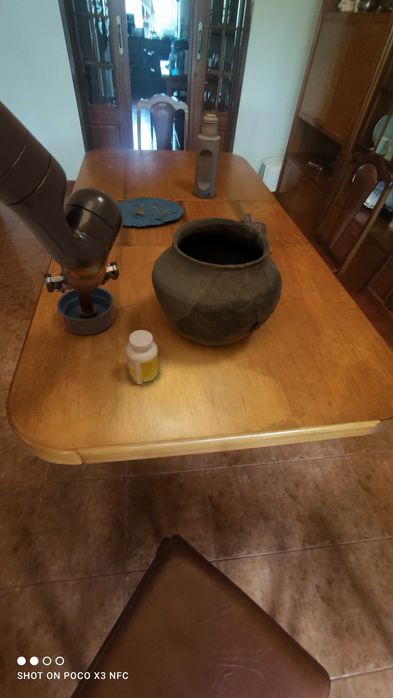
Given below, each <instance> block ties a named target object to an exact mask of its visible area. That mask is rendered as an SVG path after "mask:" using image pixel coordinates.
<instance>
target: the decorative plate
mask: <svg viewBox="0 0 393 698" xmlns="http://www.w3.org/2000/svg"><path fill="white" fill-rule="evenodd" d="M116 203H117V205H118V206H119V208H120V211H121V213H122V218H123V224H122V226H125V227H131V226H133V227H139V228H140V227H141V228H142V227H144V228H145V227H146V226H158V225H163V224H165V223H166V222H170V221H174V220H175V221H176V220H177V219H180V218H181V217H182V215H183V214H184V208H183V207H182V206H181V204H179V203H178V202H176V201H173V200H171V199H166V198H161V197H153V196H140V197H134V198H131V199H127V200H121V201H119V202H116Z"/></svg>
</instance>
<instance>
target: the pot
mask: <svg viewBox="0 0 393 698" xmlns="http://www.w3.org/2000/svg"><path fill="white" fill-rule="evenodd" d="M259 230H260V229H259ZM259 230H258V229H256V228H254V227H252V226H250V225H247V224H244V223H243V221H242V222H241V221H238V220H236V219H231V218H224V217H201V218H196V219H191V220H190V221H186V222H185V223H183V224H182V225H180V226H178V228H176V230H175V231H174V233H173V234H172V237H171V245H169V246H168V247H167V248H166V249H164V250H163V251H162V253H161V254H160V255H158V257H157V258H156V259H155V261H154V263H153V267H152V271H151V283H152V287H153V291H154V294H155V297H156V300H157V301H158V303H159V305H160V307H161V309H162V312H163V314H164V315H165V317H166V318H167V320H168V321H169V323H170V325H171V326H172V328H173V330H175V331H176V332H177V334H179V335H180V336H182V337H183V338H185V339H188V340H190V341H192V342H195V343H198V344H200V345H206V346H224V345H230V344H233V343H236V342H240V341H241V340H243V339H245V338H246V337H249V336H250V335H252V334H254V333H255V332H257V330H259V329H260V328H261V327H262V326H264V325H265V323H266V322H267V321H268V320H269V318H270V317H271V316H272V315H273V313H275V310H276V308H277V307H278V303H279V302H280V299H281V295H282V289H283V281H282V275H281V271H280V269H279V268H278V266H277V264H276V262H275V261H274V260H273V259H272V258H271V256H270V254H269V252H270V246H271V245H270V241H269V240H268V238H267V236H265V235H264V234H263V233H261V232H262V231H259ZM269 245H270V246H269Z"/></svg>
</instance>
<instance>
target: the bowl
mask: <svg viewBox="0 0 393 698" xmlns="http://www.w3.org/2000/svg"><path fill="white" fill-rule="evenodd" d="M90 293H91V297H92V302H93V304H94V305H96V306H97V308H98V313H99V315H98V316H96V317H92V318H88V319H80V317H79V313H78V309H79V307H80V302H79V298H78V294H77V290H75V289H71V290H67V291H65V293H62V295H61V296H60V297H59V298H58V300H57V302H56V310H57V313H58V316H59V319H60V323H61V325H62V327H63V328H64V329H65V330H66V331H68V332H70V333H72V334H74V335H78V336H92V335H93V336H94V335H97V334H100V333H102V332H105V331H106V330H107V329H108V328H110V327H111V326H112V325H114V322H115V320H116V319H117V310H116V303H115V298H114V296H113V294H112V293H111V292H110V291H109V290H107V289H105V288H103V287H100V286H98V287H97V288H96V289H94V290H91V291H90Z"/></svg>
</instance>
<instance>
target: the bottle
mask: <svg viewBox="0 0 393 698" xmlns="http://www.w3.org/2000/svg"><path fill="white" fill-rule="evenodd" d="M218 124H219V118H218V117H217V115H216V114H212V113H206V114H205V116H203V118H202V127H201V133H199V134H197V136H196V151H195V152H196V155H195V171H194V172H195V173H194V189H193V193H194V196H196V197H198V198H201V199H211V198H213V197H215V195H216V184H217V175H218V166H219V157H220V149H221V147H220V146H221V136H219V135H218Z"/></svg>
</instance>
